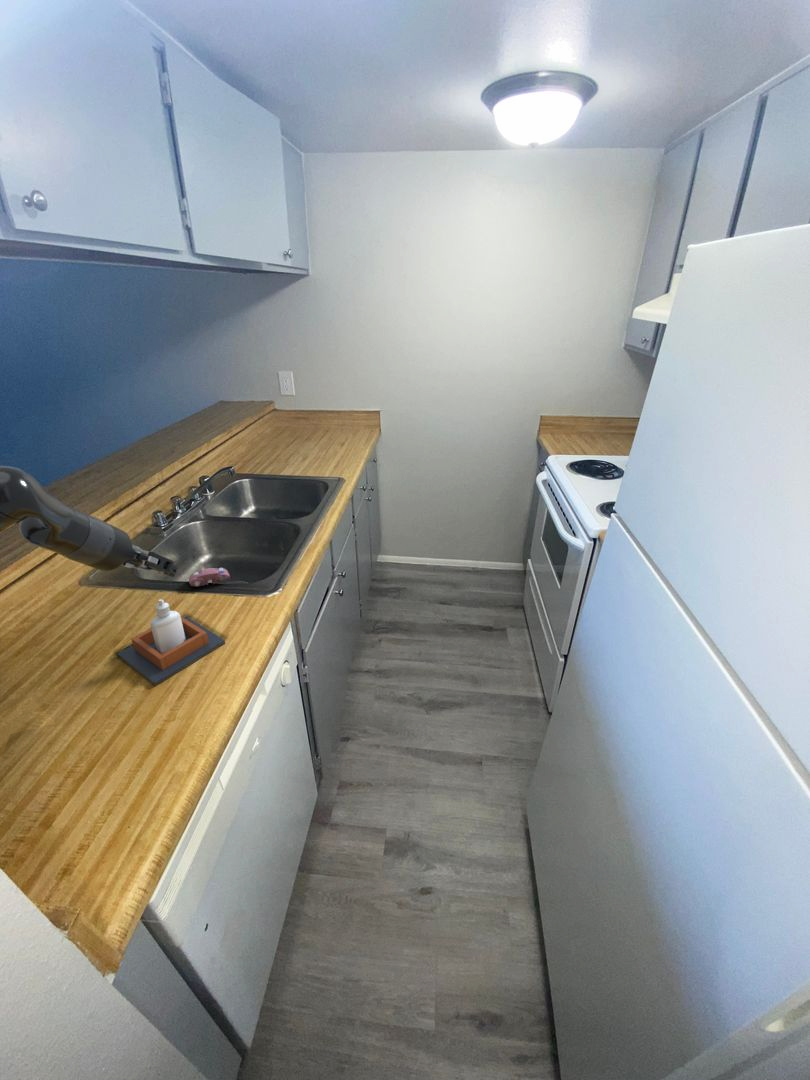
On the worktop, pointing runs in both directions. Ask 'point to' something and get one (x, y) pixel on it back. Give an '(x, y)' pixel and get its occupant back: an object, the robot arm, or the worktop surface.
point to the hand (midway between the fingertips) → (155, 568)
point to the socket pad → (169, 652)
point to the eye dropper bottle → (167, 628)
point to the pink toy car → (208, 576)
